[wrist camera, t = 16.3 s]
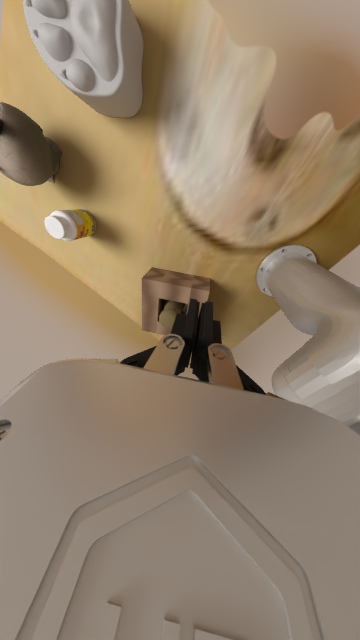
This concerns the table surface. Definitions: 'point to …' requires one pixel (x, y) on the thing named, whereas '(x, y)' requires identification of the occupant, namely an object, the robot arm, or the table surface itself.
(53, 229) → the supplement bottle
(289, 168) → the table surface
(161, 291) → the brown square frame
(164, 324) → the olive pear shape
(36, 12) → the white egg tray
